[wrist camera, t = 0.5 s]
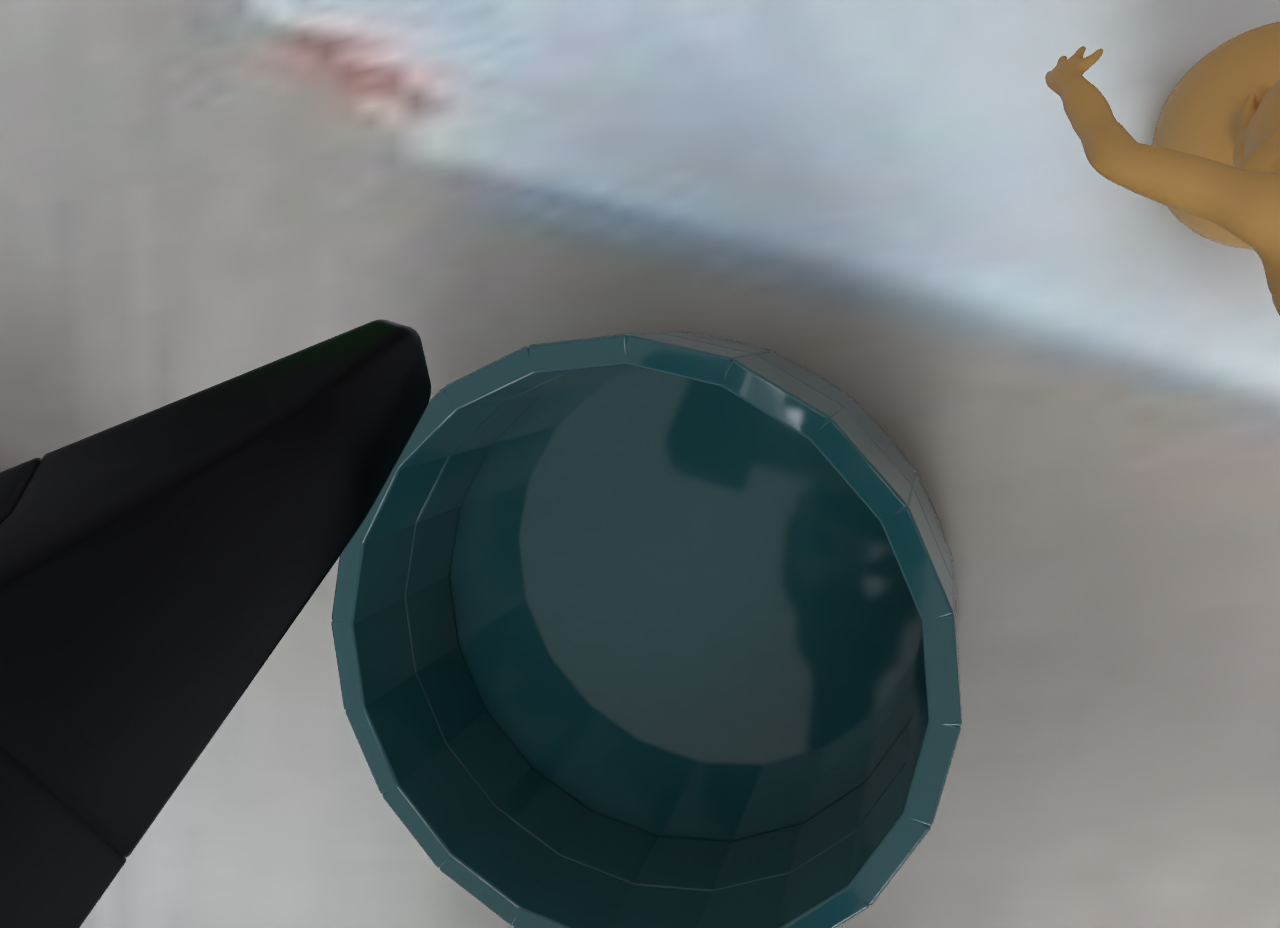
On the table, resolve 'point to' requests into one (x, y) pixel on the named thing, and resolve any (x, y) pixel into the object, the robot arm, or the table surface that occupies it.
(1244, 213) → the figurine
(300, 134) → the table surface
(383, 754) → the pot
